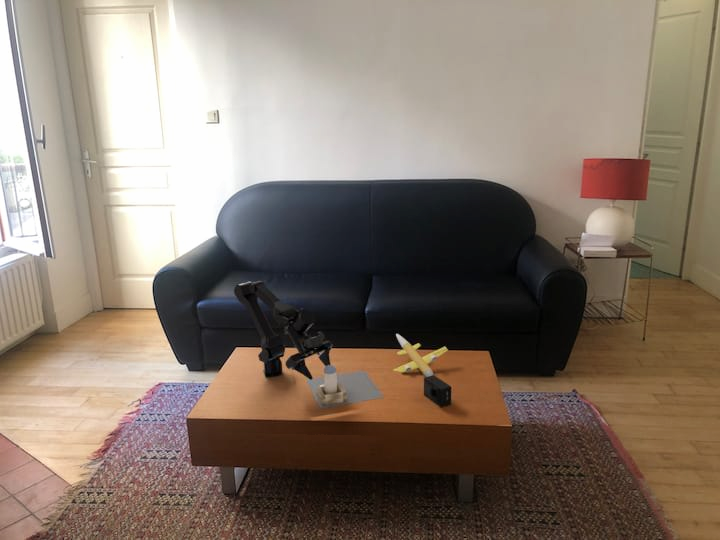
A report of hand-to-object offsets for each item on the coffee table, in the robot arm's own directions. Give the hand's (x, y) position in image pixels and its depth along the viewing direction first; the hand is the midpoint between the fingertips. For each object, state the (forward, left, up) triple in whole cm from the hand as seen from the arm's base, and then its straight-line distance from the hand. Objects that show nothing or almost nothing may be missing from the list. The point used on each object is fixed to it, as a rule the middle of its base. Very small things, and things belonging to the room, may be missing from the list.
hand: (321, 374), depth 191 cm
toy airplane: (+41, +11, -9) cm, 43 cm away
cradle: (+2, -4, -8) cm, 9 cm away
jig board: (+8, +1, -8) cm, 12 cm away
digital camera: (+37, -17, -9) cm, 41 cm away
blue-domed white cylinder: (+2, -4, -7) cm, 9 cm away
